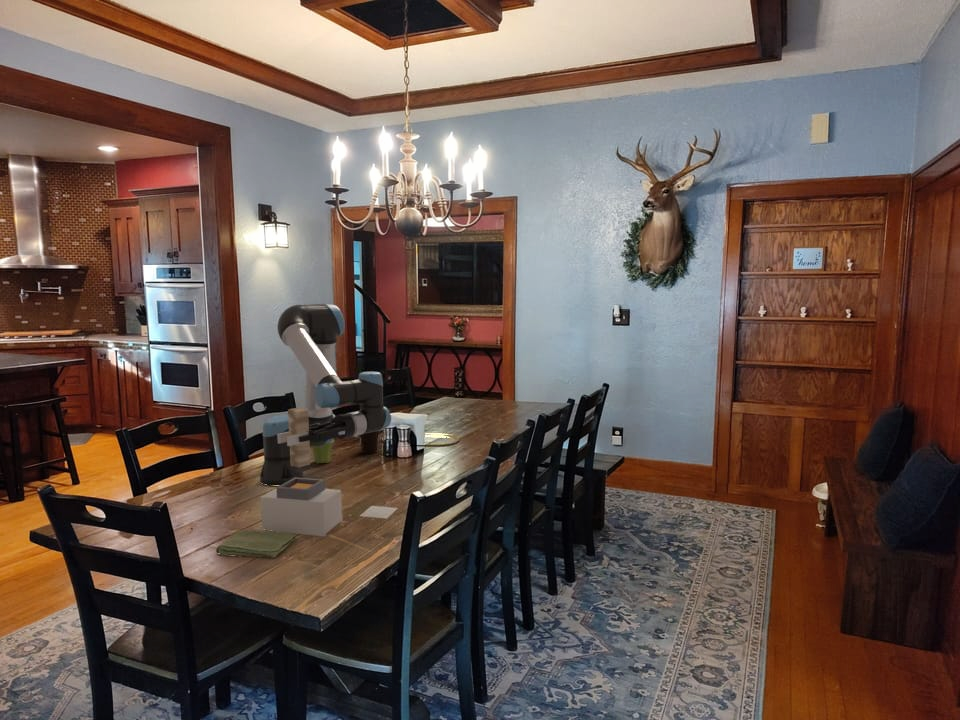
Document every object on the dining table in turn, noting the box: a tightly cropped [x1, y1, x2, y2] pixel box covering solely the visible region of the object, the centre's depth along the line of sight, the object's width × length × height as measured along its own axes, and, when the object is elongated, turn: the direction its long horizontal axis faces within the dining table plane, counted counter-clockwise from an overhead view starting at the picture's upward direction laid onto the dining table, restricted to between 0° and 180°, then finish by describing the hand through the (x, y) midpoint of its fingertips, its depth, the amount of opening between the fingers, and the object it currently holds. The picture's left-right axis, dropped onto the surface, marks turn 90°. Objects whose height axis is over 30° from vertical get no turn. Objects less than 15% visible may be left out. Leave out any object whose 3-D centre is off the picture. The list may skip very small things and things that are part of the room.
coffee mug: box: [359, 430, 380, 454], centre depth 266 cm, size 12×9×10 cm
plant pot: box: [312, 439, 335, 464], centre depth 250 cm, size 9×9×9 cm
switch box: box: [260, 477, 343, 537], centre depth 183 cm, size 20×11×13 cm, turn 76°
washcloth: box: [215, 529, 297, 559], centre depth 169 cm, size 13×18×3 cm
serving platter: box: [382, 433, 460, 447], centre depth 283 cm, size 19×35×2 cm, turn 84°
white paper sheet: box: [359, 505, 399, 520], centre depth 193 cm, size 9×9×1 cm
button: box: [290, 483, 314, 489], centre depth 183 cm, size 6×6×3 cm
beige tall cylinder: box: [287, 406, 312, 473], centre depth 181 cm, size 4×4×18 cm
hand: (283, 439), depth 176 cm, fingers closed on beige tall cylinder, 4 cm apart
